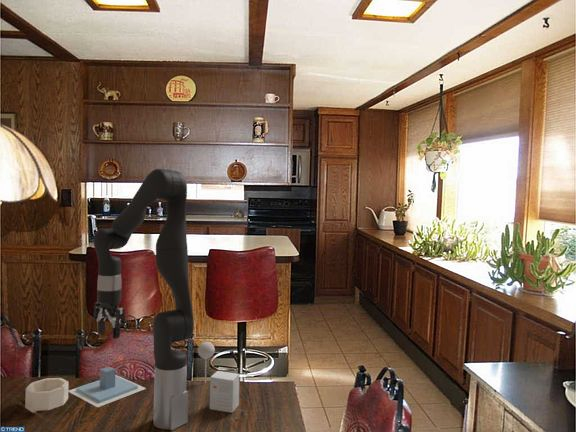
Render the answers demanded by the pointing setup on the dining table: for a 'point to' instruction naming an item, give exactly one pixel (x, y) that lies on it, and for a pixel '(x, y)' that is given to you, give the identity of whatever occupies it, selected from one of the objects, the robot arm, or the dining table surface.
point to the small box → (224, 391)
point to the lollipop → (206, 352)
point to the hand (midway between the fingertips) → (108, 335)
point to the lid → (106, 386)
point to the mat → (107, 400)
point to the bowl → (46, 394)
